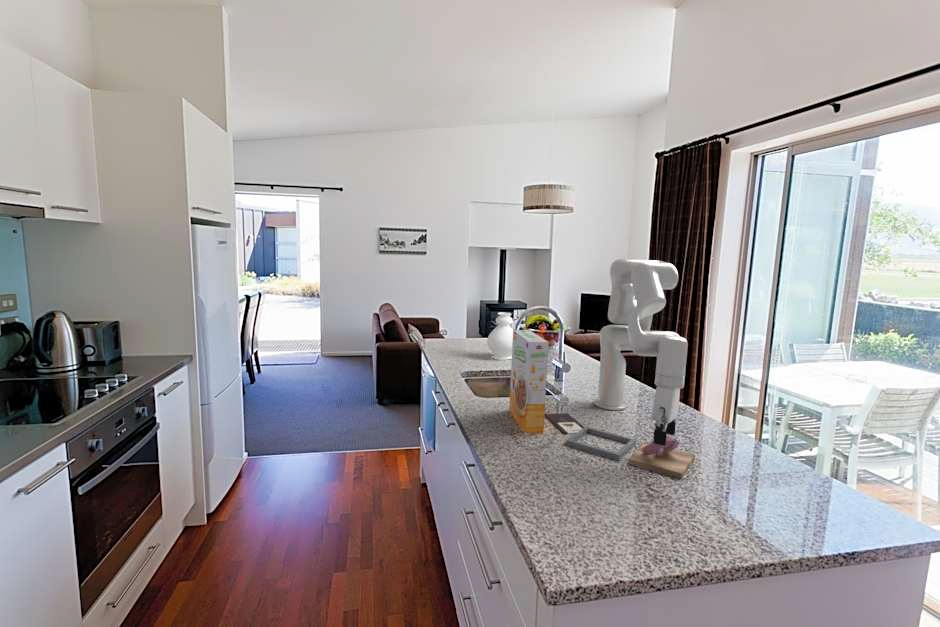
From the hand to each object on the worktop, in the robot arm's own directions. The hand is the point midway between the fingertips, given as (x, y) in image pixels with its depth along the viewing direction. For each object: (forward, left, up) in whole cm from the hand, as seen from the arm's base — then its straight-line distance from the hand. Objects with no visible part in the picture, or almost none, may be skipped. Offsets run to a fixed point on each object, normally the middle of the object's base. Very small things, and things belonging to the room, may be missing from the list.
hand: (664, 438), depth 134 cm
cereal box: (-2, -46, -7) cm, 47 cm away
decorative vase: (-81, -106, -7) cm, 134 cm away
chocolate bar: (-9, -34, -7) cm, 36 cm away
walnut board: (0, 0, -7) cm, 7 cm away
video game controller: (-1, -1, -5) cm, 6 cm away
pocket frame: (0, -18, -7) cm, 19 cm away
